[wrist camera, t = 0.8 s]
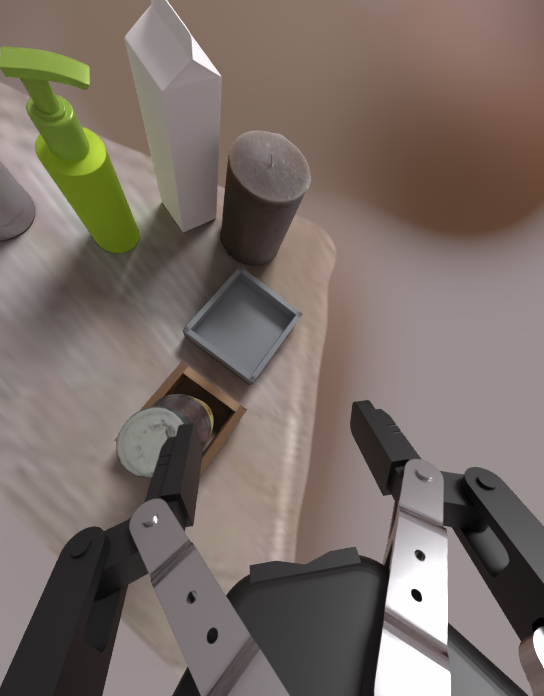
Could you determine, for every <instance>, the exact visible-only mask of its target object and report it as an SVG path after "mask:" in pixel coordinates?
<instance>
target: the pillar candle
mask: <svg viewBox="0 0 544 696" xmlns="http://www.w3.org/2000/svg"><path fill="white" fill-rule="evenodd" d="M310 176H311V175H310V171H309V165H308V164H307V162H306V159H305V157H304V156H303V154H302V153H301V152H300V150H299V149H298V148H297V147H296V146H294V145H293V144H292V143H291V142H289V141H288V140H287V139H285V138H284V136H282V135H280V134H277V133H275V134H273V133H271V132H267V131H251V132H247V133H244V134H242V135H240V136H239V137H238V138H237V139H236V140H235V141H234V143H233V144H232V146H231V149H230V152H229V157H228V166H227V175H226V186H225V195H224V205H223V215H222V216H223V218H222V219H223V220H222V229H221V240H222V244H223V246H224V248H225V250H226V251H227V253H228V254H229V255H231V256H232V257H233V258H235V259H236V260H237V261H239V262H242V263H244V264H248V265H261V264H265V263H266V262H268V261H270V260H271V259H272V258H273V257H274V256H275V255H276V253H277V252H278V250H279V247H280V245H281V243H282V241H283V239H284V237H285V235H286V233H287V231H288V228H289V226H290V224H291V222H292V220H293V218H294V216H295V213H296V211H297V209H298V207H299V204H300V203H301V200H302V198H303V196H304V194H305V192H306V190H307V189H308V188H309V184H310V183H311V177H310Z"/></svg>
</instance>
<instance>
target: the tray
mask: <svg viewBox="0 0 544 696" xmlns="http://www.w3.org/2000/svg"><path fill="white" fill-rule="evenodd" d="M301 316H302V313H300V312H299V311H298V310H297V309H295V308H294V307H293V306H291V305H290V304H289V303H288V302H286V301H285V300H284V299H282V298H281V297H280V296H279V295H277V294H276V293H275V292H274V291H272V290H271V289H270V288H268V287H267V286H266V285H265V284H263V283H262V282H261V281H259V280H258V279H257V278H256V277H254V276H253V275H252V274H250V273H249V272H248V271H247V270H245V269H244V268H243V267H241V266H239V267H238V269H237V270H236V271H235V272H234V273H233V274H232V275H231V276H230V278H229V279H228V280H227V281H226V282H225V283H224V284H223V285H222V286H221V288H220V289H219V290H218V291H217V292H216V293H215V294H214V295H213V297H212V298H211V299H210V300H209V301H208V302H207V303H206V304H205V305H204V307H203V308H202V309H201V310H200V311H199V312H198V313H197V314H196V315H195V317H194V318H193V319H192V320H191V321H190V322H189V323H188V324H187V326H186V327H185V328H184V329H183V333H184V336H185V337H187V338H188V339H189V340H191V341H192V342H193V343H195V344H196V345H197V346H199V347H200V348H201V349H203V350H204V351H205V352H207V353H208V354H209V355H211V356H212V357H213V358H215V359H216V360H217V361H219V362H220V363H221V364H223V365H224V366H225V367H227V368H228V369H229V370H231V371H232V372H233V373H235V374H236V375H237V376H239V377H240V378H242V379H243V380H244V381H246V382H247V383H248V384H252V383H253V382H254V381H255V379H256V378H257V377H258V375H259V374H260V372H261V371H262V370H263V368H264V367H265V366H266V364H267V363H268V361H269V360H270V359H271V357H272V356H273V354H274V353H275V352H276V350H277V349H278V348H279V346H280V345H281V343H282V342H283V341H284V339H285V338H286V336H287V335H288V334H289V332H290V331H291V330H292V328H293V327H294V325H295V324H296V323H297V321H298V320H299V318H300V317H301Z"/></svg>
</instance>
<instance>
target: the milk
mask: <svg viewBox="0 0 544 696" xmlns="http://www.w3.org/2000/svg"><path fill="white" fill-rule="evenodd" d="M124 39H125V43H126V48H127V52H128V57H129V61H130V65H131V69H132V74H133V78H134V82H135V87H136V91H137V96H138V100H139V104H140V109H141V113H142V117H143V122H144V126H145V130H146V135H147V139H148V143H149V148H150V152H151V157H152V161H153V165H154V170H155V174H156V178H157V183H158V187H159V191H160V196H161V200H162V203H163V204H164V206H165V207H166V209H167V210H168V211H169V213H170V214H171V216H172V217H173V219H174V220H175V222H176V223H177V224H178V226H179V227H180V229H181V230H182V232H186V231H188V230H191V229H193V228H195V227H197V226H200V225H202V224H204V223H206V222H209V221H211V220H213V219H216V210H217V184H218V158H219V131H220V107H221V82H222V77H221V75H220V74H219V73H218V71H217V70H216V68H215V67H214V66H213V64H212V63H211V62H210V60H209V59H208V57H207V56H206V55H205V53H204V52H203V51H202V49H201V48H200V46H199V45H198V44H197V42H196V41H195V39H194V38H193V37H192V35H191V34H190V32H189V30H188V29H187V27H186V26H185V24H184V23H183V22H182V20H181V19H180V18H179V16H178V15H177V14H176V12H175V11H174V9H173V8H172V7H171V5H170V4H169V2H168V1H167V0H151V5H150V7H149V8H148V9H147V10H146V11H145V13H144V14H143V15H142V16H141V18H140V19H139V20H138V21H137V22H136V24H135V25H134V26H133V27H132V28H131V30H130V31H129V32H128V33H127V35H126V36H125V38H124Z"/></svg>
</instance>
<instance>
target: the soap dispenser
mask: <svg viewBox="0 0 544 696" xmlns="http://www.w3.org/2000/svg"><path fill="white" fill-rule="evenodd" d="M0 55H1V56H0V68H1V70H2V72H3V73H4V75H5V76H6V77H16V78H20V79H21V81H22V83H23V85H24V86H25V88H26V90H27V91H28V93H29V95H30V97H31V98H30V99H29V101H28V102H27V106H26V109H27V113H28V115H29V117H30V118H31V120H32V121H33V123H34V125H35V126H36V128H37V130H38V131H39V133H40V135H39V136H38V138H37V140H36V143H35V151H36V154H37V156H38V158H39V160H40V161H41V163H42V164H43V166H44V167H45V168H46V170H47V171H48V173H49V174H50V176H51V177H52V179H53V180H54V182H55V183H56V184H57V186H58V187H59V189H60V190H61V192H62V193H63V195H64V196H65V197H66V199H67V200H68V202H69V203H70V205H71V206H72V208H73V209H74V211H75V212H76V213H77V215H78V216H79V218H80V219H81V221H82V222H83V224H84V225H85V227H86V228H87V229H88V231H89V232H90V234H91V235H92V237H93V238H94V240H95V241H96V243H97V244H98V245H99V246H100V247H101V248H103V249H104V250H106V251H109V252H112V253H123V252H127V251H129V250H131V249H133V248H134V247H135V246H136V245H137V243H138V241H139V230H138V228H137V225H136V223H135V220H134V218H133V215H132V213H131V210H130V208H129V205H128V203H127V200H126V198H125V195H124V193H123V190H122V188H121V185H120V183H119V180H118V178H117V175H116V173H115V170H114V168H113V165H112V163H111V160H110V158H109V155H108V153H107V150H106V148H105V145H104V143H103V142H102V140H101V139H100V138H99V137H98V136H97V135H96V134H95V133H93V132H92V131H90V130H88V129H86V128H84V127H81V124H80V122H79V120H78V118H77V116H76V113H75V111H74V109H73V107H72V106H71V104H70V103H69V102H68V101H67V100H65V99H64V98H62V97H60V96H58V95H55V94H54V92H53V90H52V88H51V86H50V84H49V82H48V81H53V82H60V83H64V84H69V85H72V86H75V87H78V88H81V89H84V90H87V89H88V87H89V86H90V67H89V66H88V65H86V64H83V63H81V62H79V61H76V60H74V59H71V58H69V57H66V56H63V55H59V54H56V53H52V52H48V51H43V50H37V49H29V48H18V47H3V46H1V54H0Z"/></svg>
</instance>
